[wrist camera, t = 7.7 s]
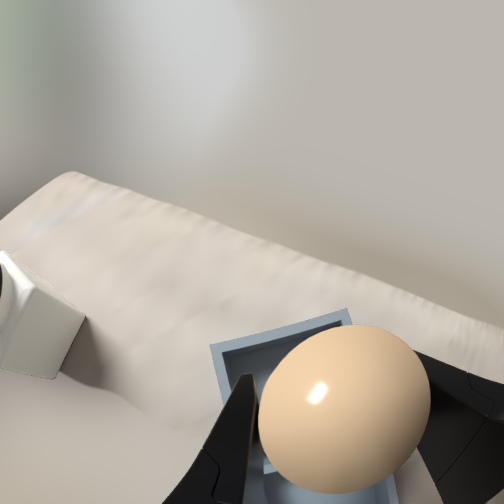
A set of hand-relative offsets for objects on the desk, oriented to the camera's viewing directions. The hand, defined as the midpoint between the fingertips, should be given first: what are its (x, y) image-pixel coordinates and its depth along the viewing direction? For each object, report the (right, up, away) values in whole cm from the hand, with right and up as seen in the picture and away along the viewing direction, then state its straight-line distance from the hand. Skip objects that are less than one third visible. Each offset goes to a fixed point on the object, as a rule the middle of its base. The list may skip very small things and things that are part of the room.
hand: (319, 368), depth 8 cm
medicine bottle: (-21, -3, +11) cm, 24 cm away
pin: (0, -4, +6) cm, 7 cm away
